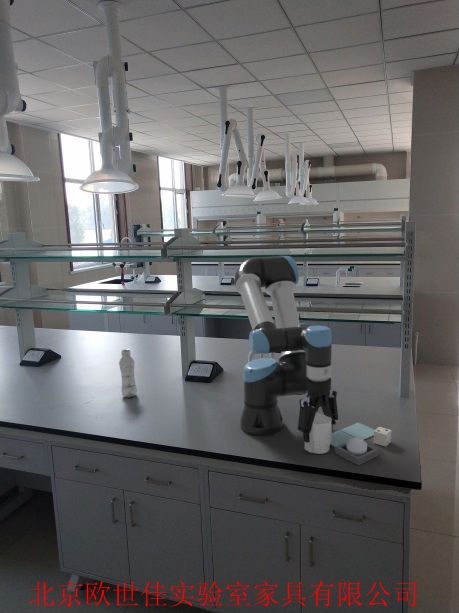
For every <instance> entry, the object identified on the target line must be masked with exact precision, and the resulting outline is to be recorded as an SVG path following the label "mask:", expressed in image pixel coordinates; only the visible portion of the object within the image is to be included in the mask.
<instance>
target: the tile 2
mask: <svg viewBox="0 0 459 613" xmlns="http://www.w3.org/2000/svg"><path fill="white" fill-rule="evenodd" d="M339 430H340V431H342V432H344V433H346V434H348V435H350V436H352V437H358V438H361V439H362V440H364V441H365V440H367V439H369V438H371V437H374V431H375V430H376V429H373V428H371V427H369V426H367V425H365V424H362V423H361V422H356V423H353V424H351V425H349V426H347V427H345V428H342V429H339Z"/></svg>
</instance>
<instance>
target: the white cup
mask: <svg viewBox="0 0 459 613" xmlns="http://www.w3.org/2000/svg"><path fill="white" fill-rule="evenodd" d="M331 422H332V419H331V417H327V416H325V415H324V413H320V412H319V413H318V412H316V414H315V418H314V421H313V424H312V428H311V432H313V452H312V454H319V455H320V454H321V455H322V454H326V453H328V452H329V451H330V446H331V445H330V437H331Z"/></svg>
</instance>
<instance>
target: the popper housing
mask: <svg viewBox="0 0 459 613" xmlns="http://www.w3.org/2000/svg"><path fill="white" fill-rule="evenodd" d="M334 452H335V454H336V455H338V456H340V457H342V458H344V459H346V460H348V461H349V462H351V463H353V464H355V465H356V466H361V465H363V464H364V463H365V464H366V462H368V461H371V460H372V459H375V458H376V457H379V454H380V452H379V449H378V448H377V447H374V446H372V445H370V444H368V443H367V453H365V454H363V455H361V456H356V455H354V454H352V453H350V452H348V451H347V442H345V443H343V444H341V445H338V446H336V447H334Z"/></svg>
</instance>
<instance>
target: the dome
mask: <svg viewBox="0 0 459 613" xmlns="http://www.w3.org/2000/svg"><path fill="white" fill-rule="evenodd" d="M367 444H368V443H367V441H365V440H362V439H361V438H358V437H354V438H352V439H349V440H348V441H347V450H346V451H348V452H350V453H352V454H354V455H356V456H361V455H363V454H365V453H367Z"/></svg>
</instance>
